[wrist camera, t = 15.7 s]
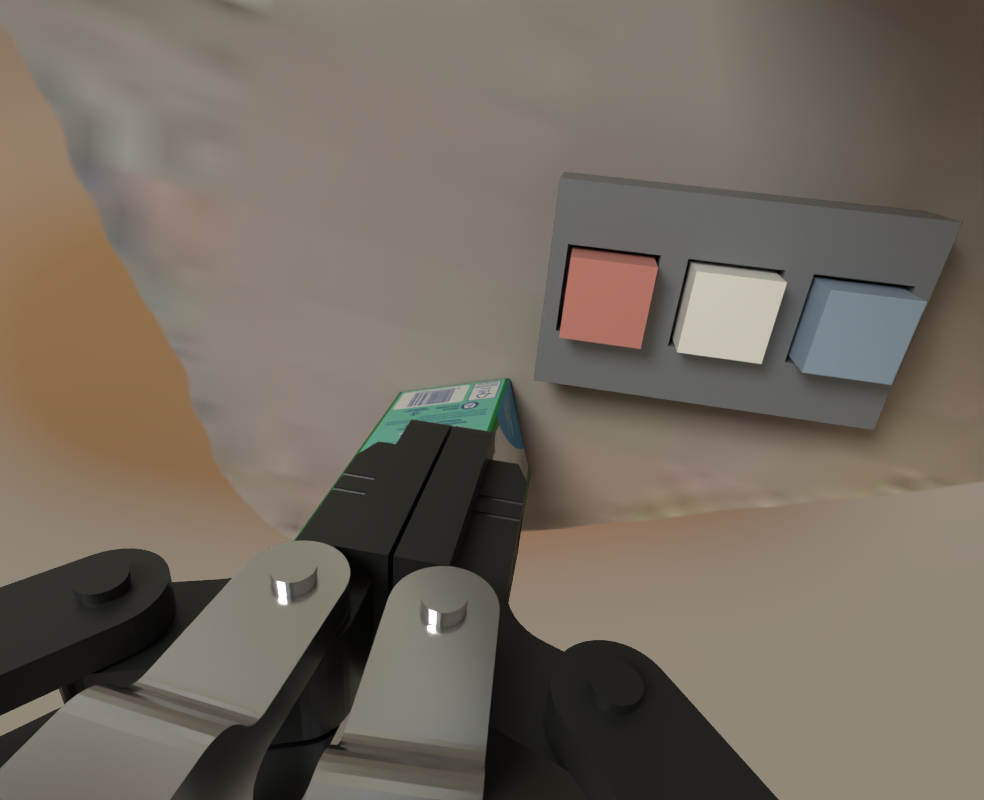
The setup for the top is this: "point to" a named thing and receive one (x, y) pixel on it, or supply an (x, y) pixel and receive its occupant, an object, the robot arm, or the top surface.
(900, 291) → the blue key
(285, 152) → the top surface
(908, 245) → the key panel
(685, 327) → the white key
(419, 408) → the milk carton
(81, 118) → the top surface
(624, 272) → the red key
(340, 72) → the top surface
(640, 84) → the top surface
